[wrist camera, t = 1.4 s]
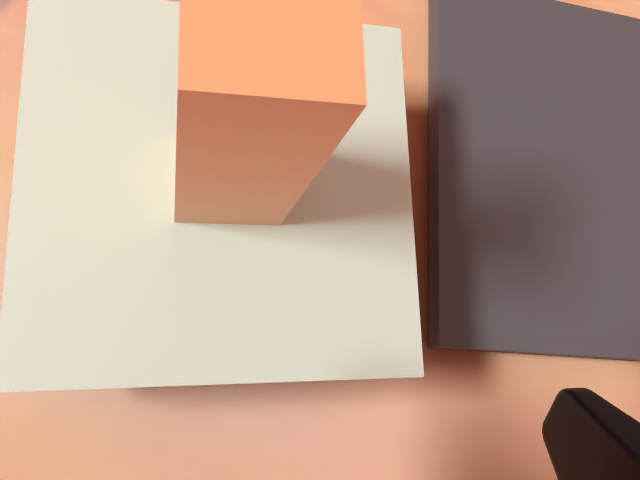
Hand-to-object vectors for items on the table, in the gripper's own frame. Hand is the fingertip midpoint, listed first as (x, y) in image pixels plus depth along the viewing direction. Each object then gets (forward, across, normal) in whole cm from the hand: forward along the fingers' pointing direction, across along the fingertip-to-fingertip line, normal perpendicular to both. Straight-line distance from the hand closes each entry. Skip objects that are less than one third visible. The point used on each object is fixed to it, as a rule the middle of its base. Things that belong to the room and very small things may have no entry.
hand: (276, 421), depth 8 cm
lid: (+11, 0, +3) cm, 12 cm away
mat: (+15, -15, +3) cm, 22 cm away
